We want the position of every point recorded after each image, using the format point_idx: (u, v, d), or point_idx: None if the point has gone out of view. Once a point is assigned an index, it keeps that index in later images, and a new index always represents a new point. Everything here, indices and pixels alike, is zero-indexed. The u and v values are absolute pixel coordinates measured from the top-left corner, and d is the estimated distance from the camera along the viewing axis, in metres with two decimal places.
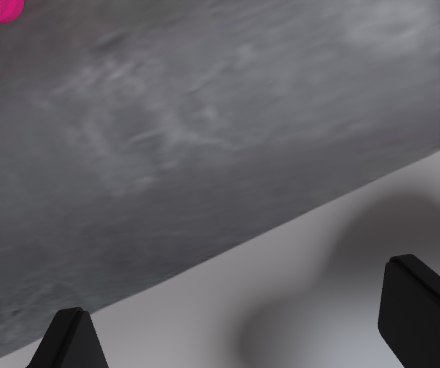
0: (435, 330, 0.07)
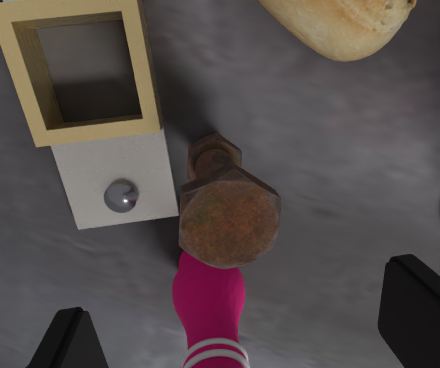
0: (435, 330, 0.07)
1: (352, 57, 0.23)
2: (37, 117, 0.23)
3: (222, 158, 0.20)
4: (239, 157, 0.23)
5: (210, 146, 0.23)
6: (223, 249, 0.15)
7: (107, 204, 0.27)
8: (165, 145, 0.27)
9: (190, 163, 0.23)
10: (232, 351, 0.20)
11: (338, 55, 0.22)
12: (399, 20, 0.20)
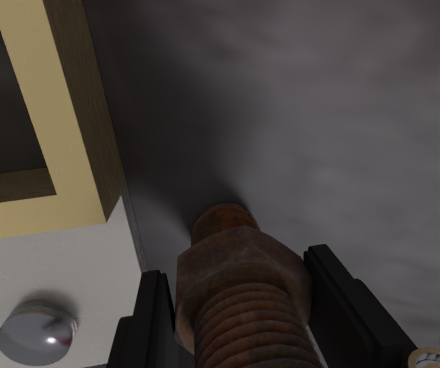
0: (330, 309, 0.08)
1: None
2: None
3: None
4: (308, 293, 0.09)
5: (235, 274, 0.08)
6: None
7: (7, 353, 0.13)
8: (128, 232, 0.12)
9: (182, 315, 0.09)
10: None
11: None
12: None
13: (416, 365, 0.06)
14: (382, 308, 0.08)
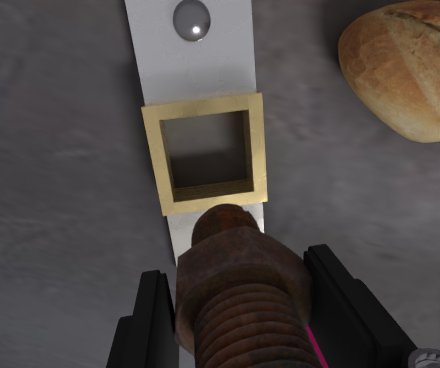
0: (330, 310, 0.08)
1: None
2: (168, 192, 0.27)
3: None
4: (308, 293, 0.09)
5: (235, 275, 0.08)
6: None
7: None
8: (261, 206, 0.31)
9: (182, 316, 0.09)
10: None
11: (422, 141, 0.26)
12: None
13: (416, 365, 0.06)
14: (382, 308, 0.08)
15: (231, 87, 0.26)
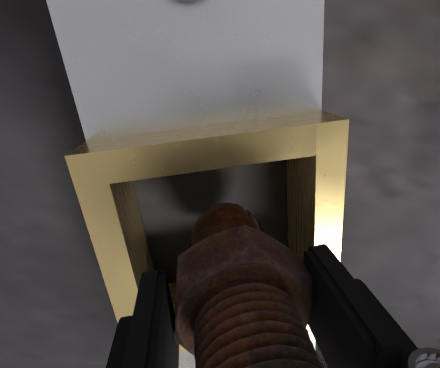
0: (330, 310, 0.08)
1: None
2: None
3: None
4: (308, 293, 0.09)
5: (235, 274, 0.08)
6: None
7: None
8: None
9: (182, 315, 0.09)
10: None
11: None
12: None
13: (416, 365, 0.06)
14: (382, 308, 0.08)
15: (271, 103, 0.12)
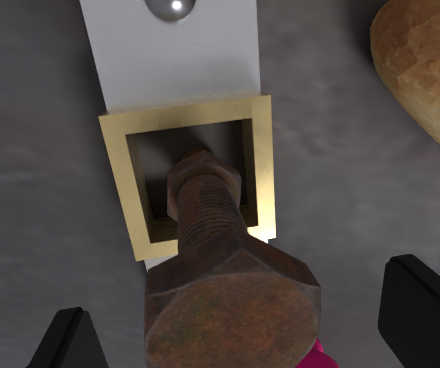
0: (435, 330, 0.07)
1: None
2: (142, 231, 0.19)
3: (216, 194, 0.14)
4: (237, 184, 0.17)
5: (197, 171, 0.16)
6: None
7: None
8: (266, 240, 0.24)
9: (170, 195, 0.17)
10: None
11: None
12: None
13: None
14: None
15: (227, 86, 0.19)
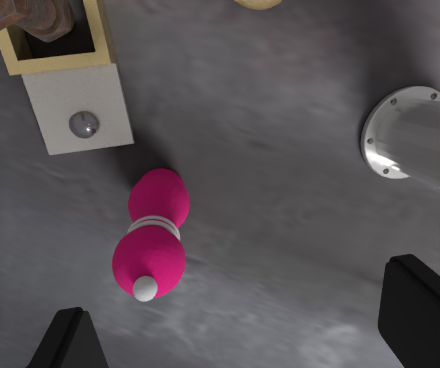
0: (435, 330, 0.07)
1: (258, 2, 0.29)
2: (10, 49, 0.28)
3: None
4: (59, 0, 0.26)
5: None
6: None
7: (72, 130, 0.33)
8: (118, 80, 0.33)
9: None
10: (163, 222, 0.26)
11: (246, 1, 0.29)
12: None
13: None
14: None
15: None
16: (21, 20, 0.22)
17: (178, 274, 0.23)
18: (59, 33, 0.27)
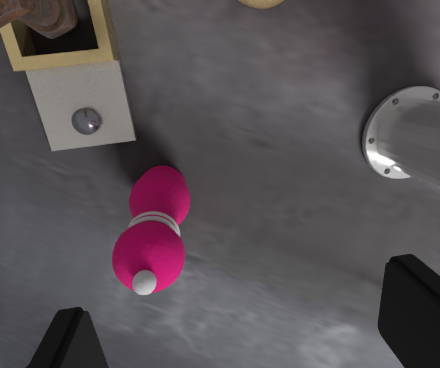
0: (435, 330, 0.07)
1: (260, 1, 0.29)
2: (14, 45, 0.29)
3: None
4: None
5: None
6: None
7: (74, 126, 0.33)
8: (121, 77, 0.33)
9: None
10: (163, 218, 0.27)
11: None
12: None
13: None
14: None
15: None
16: (25, 16, 0.22)
17: (177, 269, 0.24)
18: (63, 30, 0.28)
